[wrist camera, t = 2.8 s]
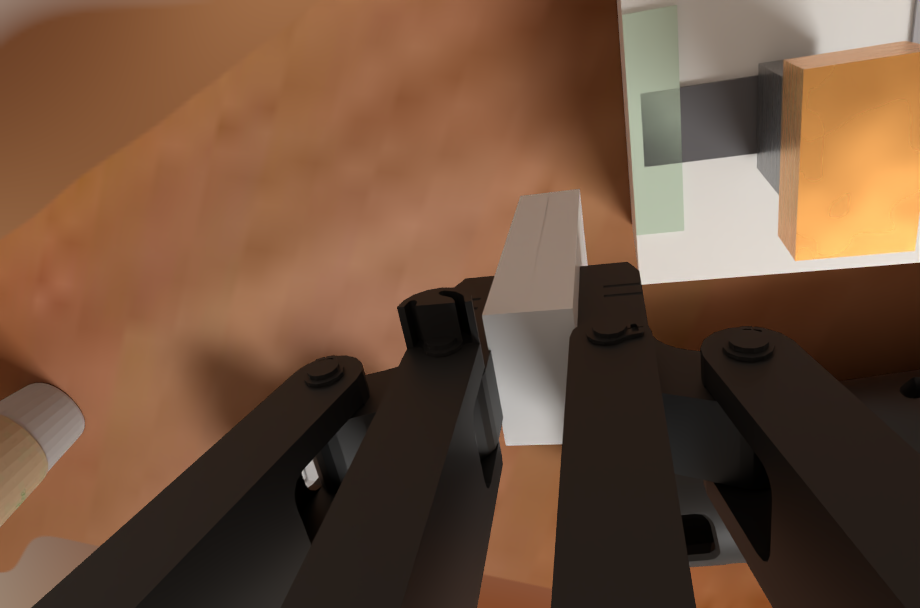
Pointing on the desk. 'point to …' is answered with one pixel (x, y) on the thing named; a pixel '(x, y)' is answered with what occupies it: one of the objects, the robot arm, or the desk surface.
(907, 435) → the muzzle brake
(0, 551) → the desk surface
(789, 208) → the breaker toggle
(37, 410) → the coffee cup
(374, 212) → the desk surface
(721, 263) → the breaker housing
